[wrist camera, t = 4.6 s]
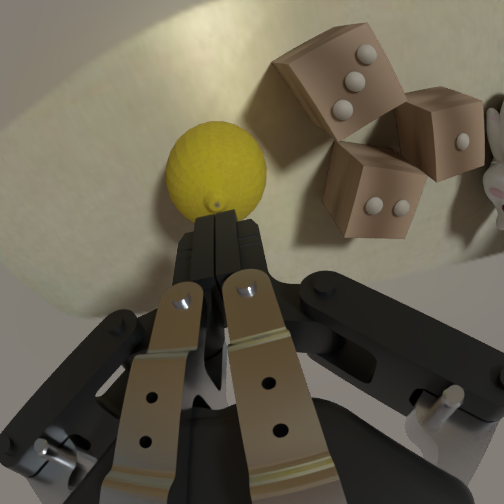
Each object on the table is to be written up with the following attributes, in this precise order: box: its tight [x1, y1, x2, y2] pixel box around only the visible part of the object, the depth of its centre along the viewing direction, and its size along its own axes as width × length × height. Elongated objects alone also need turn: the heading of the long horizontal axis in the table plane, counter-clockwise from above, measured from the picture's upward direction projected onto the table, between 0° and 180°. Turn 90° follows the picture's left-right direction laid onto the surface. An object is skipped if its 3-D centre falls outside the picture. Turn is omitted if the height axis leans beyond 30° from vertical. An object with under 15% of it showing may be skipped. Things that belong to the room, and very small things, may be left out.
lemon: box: [166, 121, 266, 223], centre depth 16 cm, size 6×6×8 cm
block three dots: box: [272, 22, 407, 142], centre depth 15 cm, size 5×5×5 cm
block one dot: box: [394, 86, 485, 182], centre depth 17 cm, size 5×5×5 cm
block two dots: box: [322, 140, 427, 239], centre depth 20 cm, size 5×5×5 cm
